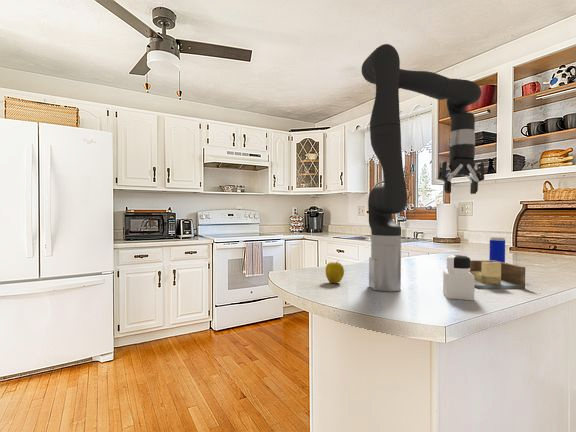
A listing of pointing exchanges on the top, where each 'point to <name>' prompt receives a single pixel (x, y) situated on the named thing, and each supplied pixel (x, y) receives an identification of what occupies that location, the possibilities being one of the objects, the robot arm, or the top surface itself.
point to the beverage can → (497, 249)
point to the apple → (334, 272)
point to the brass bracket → (488, 273)
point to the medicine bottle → (458, 278)
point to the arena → (502, 276)
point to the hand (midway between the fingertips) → (460, 193)
